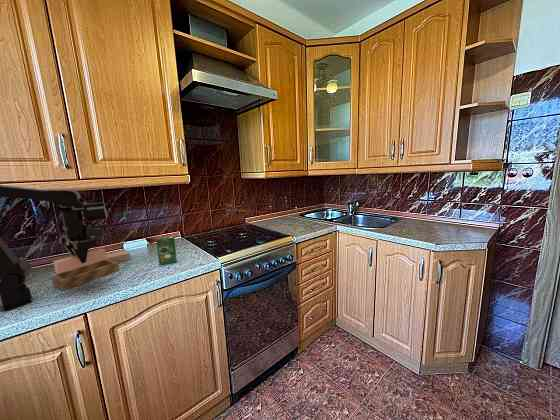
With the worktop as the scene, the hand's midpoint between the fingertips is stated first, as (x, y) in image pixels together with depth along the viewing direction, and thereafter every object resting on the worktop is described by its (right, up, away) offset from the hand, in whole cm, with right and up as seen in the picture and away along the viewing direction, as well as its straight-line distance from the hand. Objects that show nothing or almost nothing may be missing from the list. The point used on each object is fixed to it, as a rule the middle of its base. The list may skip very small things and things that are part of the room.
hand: (81, 262), depth 90 cm
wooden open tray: (-8, -9, +12) cm, 17 cm away
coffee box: (+22, -6, +24) cm, 33 cm away
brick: (-10, -7, +29) cm, 32 cm away
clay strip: (0, -1, 0) cm, 1 cm away
